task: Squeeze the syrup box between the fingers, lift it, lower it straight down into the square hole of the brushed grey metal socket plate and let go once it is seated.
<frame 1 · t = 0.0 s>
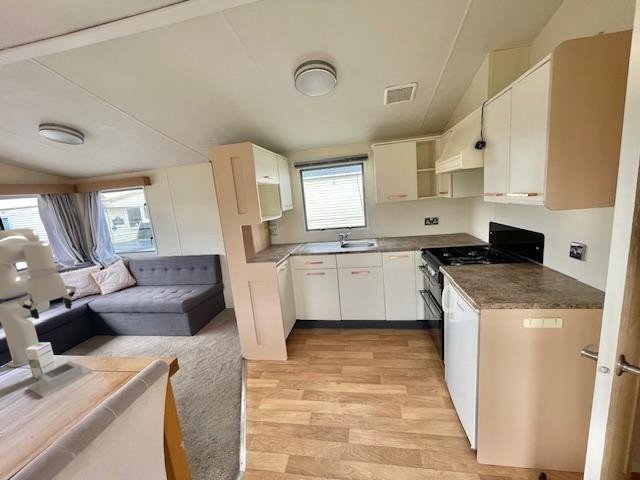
hand: (53, 313, 104), 31 cm above the table, tool pointing down, fingers open, 9 cm apart
square socket: (61, 380, 110), on the table
syrup box: (45, 375, 115), on the table
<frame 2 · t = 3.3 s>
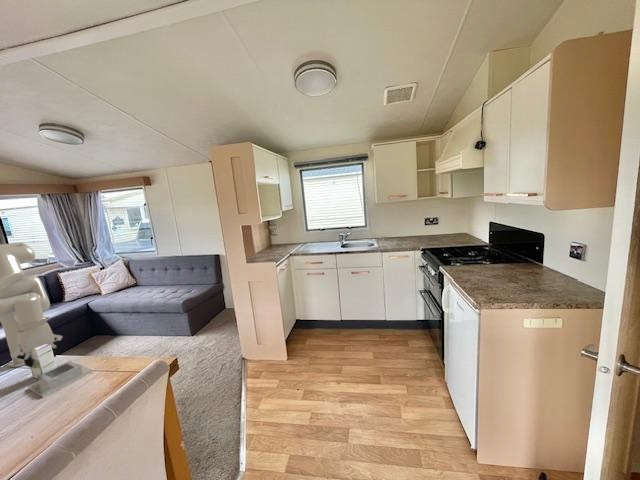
hand: (42, 360, 114), 7 cm above the table, tool pointing down, fingers closed on syrup box, 7 cm apart
syrup box: (45, 375, 115), on the table, touching gripper
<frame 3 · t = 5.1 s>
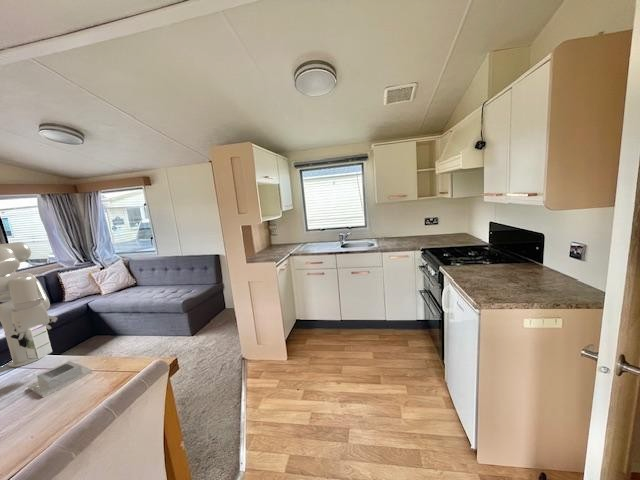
hand: (36, 341, 113), 16 cm above the table, tool pointing down, fingers closed on syrup box, 7 cm apart
syrup box: (40, 355, 114), point 9 cm above the table, touching gripper
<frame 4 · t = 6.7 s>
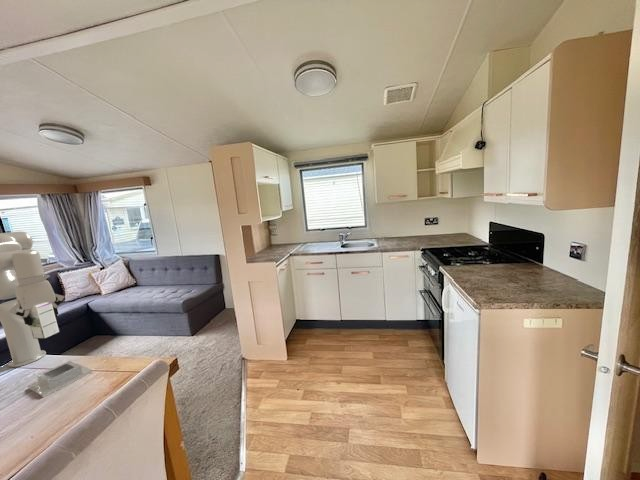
hand: (42, 320, 107), 27 cm above the table, tool pointing down, fingers closed on syrup box, 7 cm apart
syrup box: (46, 335, 108), point 20 cm above the table, touching gripper
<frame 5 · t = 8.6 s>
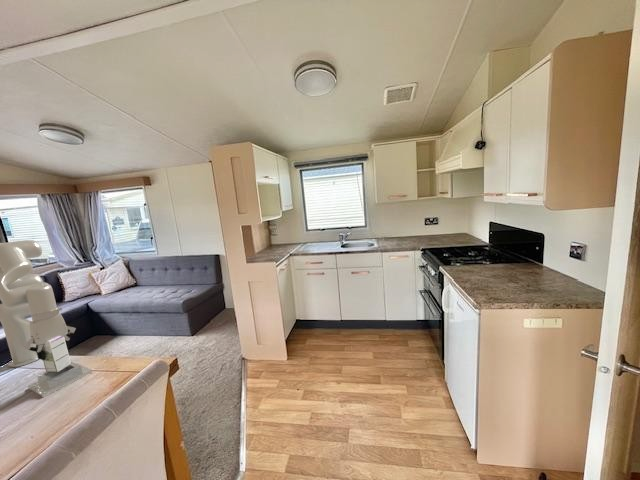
hand: (55, 353, 108), 13 cm above the table, tool pointing down, fingers closed on syrup box, 7 cm apart
syrup box: (59, 368, 109), point 6 cm above the table, touching gripper
when the fingers open (7 cm above the table, at t = 10.3 s): syrup box stays where it is, resting in square socket.
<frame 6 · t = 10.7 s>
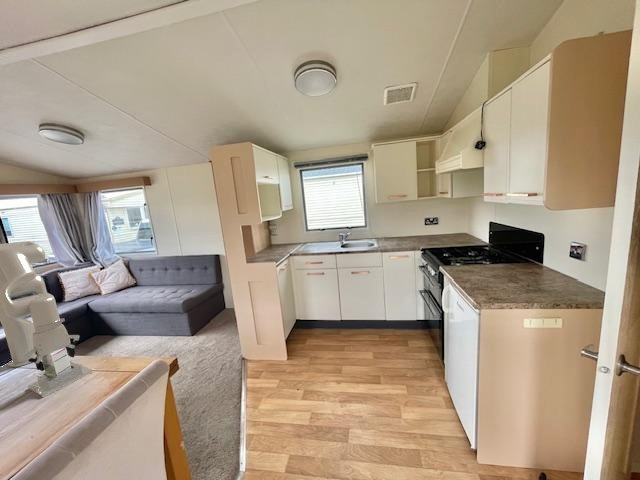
hand: (57, 363, 109), 8 cm above the table, tool pointing down, fingers open, 9 cm apart
syrup box: (61, 380, 110), resting in square socket
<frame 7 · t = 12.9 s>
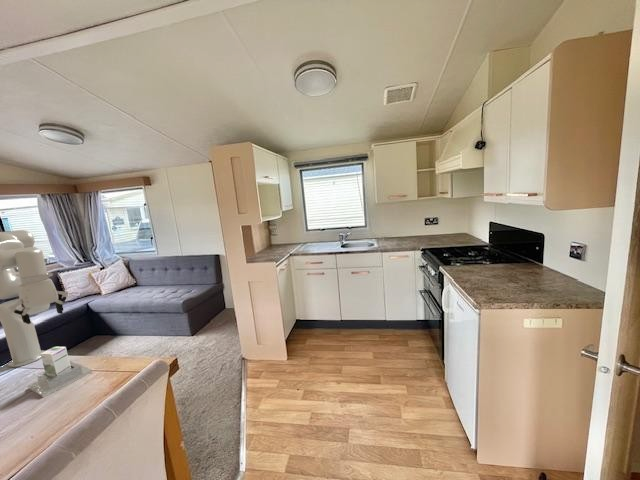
hand: (44, 318, 107), 29 cm above the table, tool pointing down, fingers open, 9 cm apart
nothing on the table moved.
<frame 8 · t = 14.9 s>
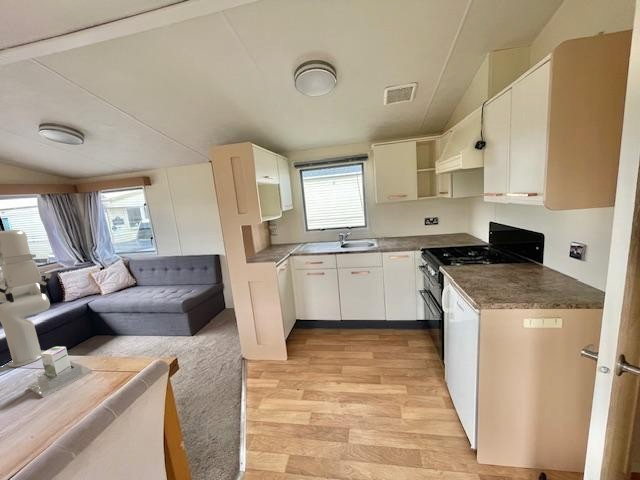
hand: (28, 297, 111), 36 cm above the table, tool pointing down, fingers open, 9 cm apart
nothing on the table moved.
at the end: syrup box 0.3 cm off-centre on the square socket, point 0.0 cm above the square socket's base; syrup box tilted 0°; the gripper is holding nothing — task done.
